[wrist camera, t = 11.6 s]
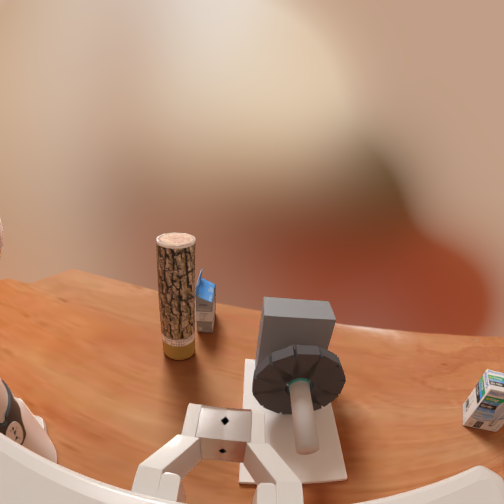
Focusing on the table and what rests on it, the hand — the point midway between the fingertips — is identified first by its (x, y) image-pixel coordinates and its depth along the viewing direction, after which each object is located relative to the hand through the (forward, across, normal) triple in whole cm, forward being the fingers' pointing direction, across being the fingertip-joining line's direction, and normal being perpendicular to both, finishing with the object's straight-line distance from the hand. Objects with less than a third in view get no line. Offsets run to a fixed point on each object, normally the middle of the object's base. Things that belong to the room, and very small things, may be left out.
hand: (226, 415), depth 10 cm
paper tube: (+39, +12, +32) cm, 52 cm away
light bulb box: (+17, -52, +32) cm, 63 cm away
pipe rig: (+24, -10, +32) cm, 41 cm away
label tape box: (+51, +8, +32) cm, 61 cm away
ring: (+24, -10, +30) cm, 40 cm away
